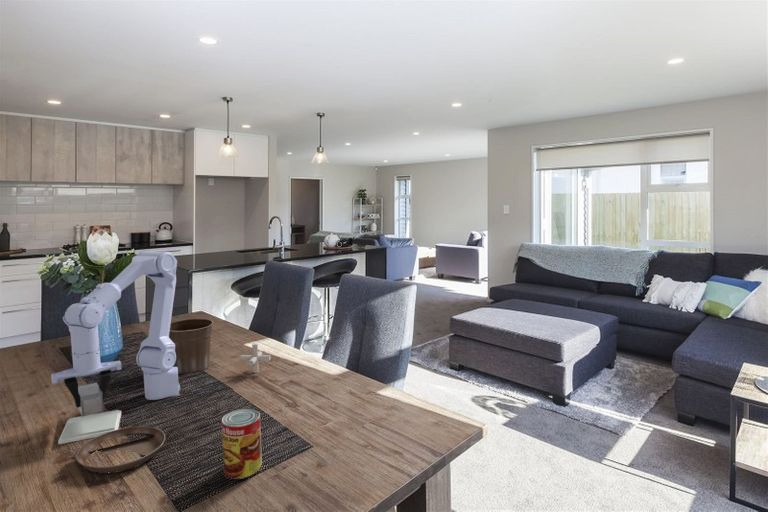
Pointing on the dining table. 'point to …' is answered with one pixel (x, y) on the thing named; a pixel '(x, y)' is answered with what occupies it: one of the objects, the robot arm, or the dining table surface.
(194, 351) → the plant pot
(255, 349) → the pipe connector
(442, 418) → the dining table surface
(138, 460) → the plant saucer
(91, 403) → the block
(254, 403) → the dining table surface
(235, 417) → the canned food
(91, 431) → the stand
